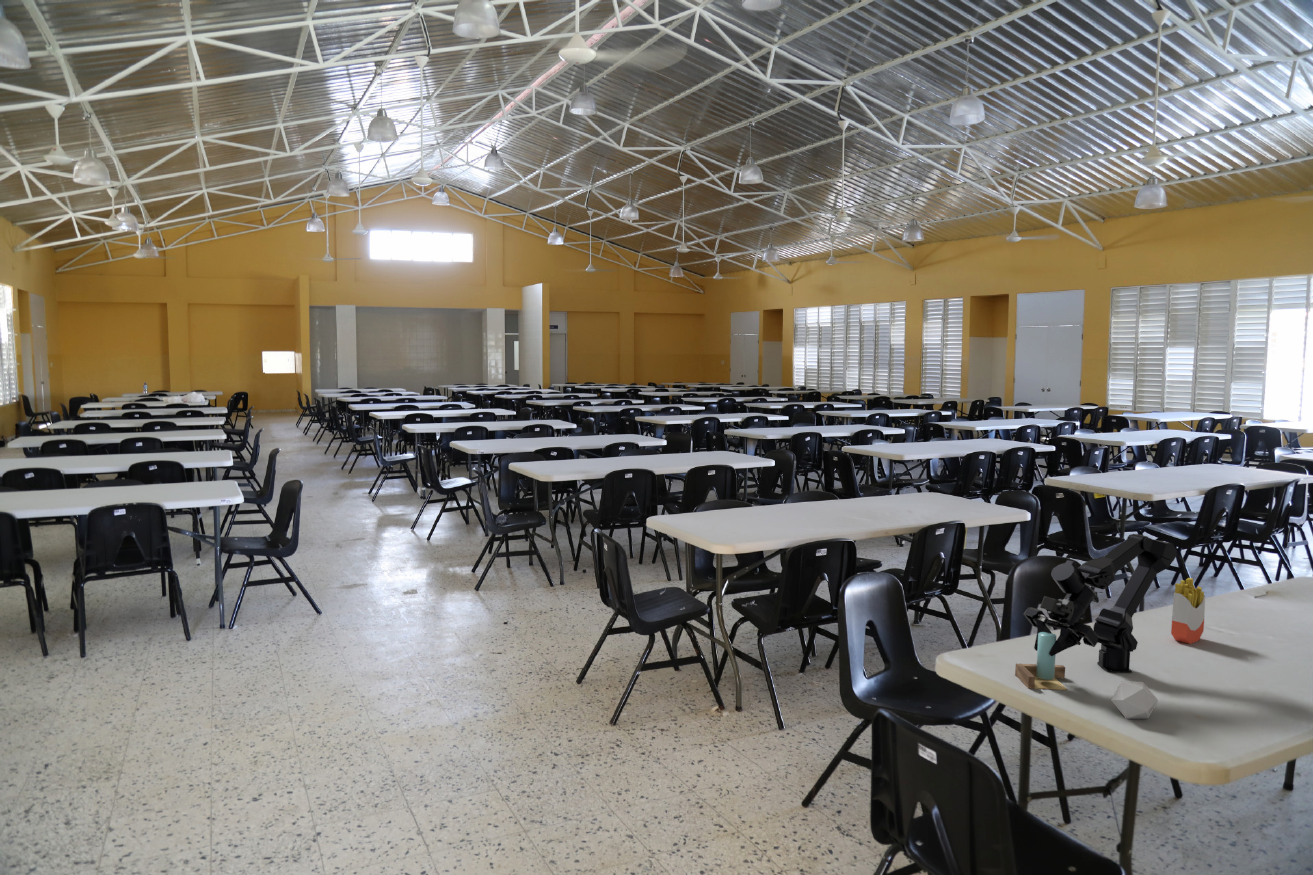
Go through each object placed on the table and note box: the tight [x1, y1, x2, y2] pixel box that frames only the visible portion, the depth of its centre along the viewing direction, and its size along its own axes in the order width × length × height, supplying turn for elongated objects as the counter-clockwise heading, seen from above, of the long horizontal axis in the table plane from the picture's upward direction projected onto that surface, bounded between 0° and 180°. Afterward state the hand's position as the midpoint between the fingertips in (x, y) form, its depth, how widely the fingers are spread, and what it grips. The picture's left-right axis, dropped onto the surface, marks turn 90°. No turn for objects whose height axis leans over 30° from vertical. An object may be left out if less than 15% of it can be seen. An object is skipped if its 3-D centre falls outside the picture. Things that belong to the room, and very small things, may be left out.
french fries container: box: [1170, 577, 1206, 645], centre depth 253 cm, size 5×11×18 cm, turn 124°
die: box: [1110, 681, 1159, 720], centre depth 198 cm, size 8×9×10 cm
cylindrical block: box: [1036, 632, 1057, 680], centre depth 217 cm, size 4×4×11 cm
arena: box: [1014, 663, 1068, 691], centre depth 219 cm, size 12×10×3 cm
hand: (1042, 652), depth 217 cm, fingers closed on cylindrical block, 4 cm apart
